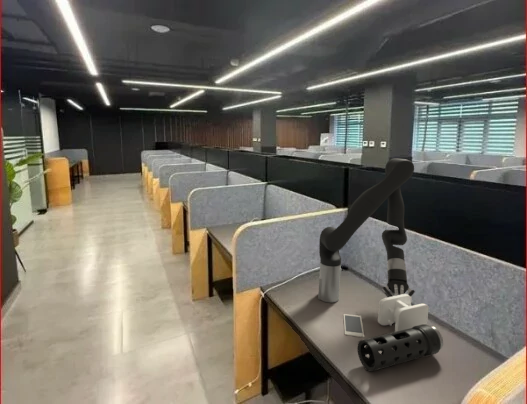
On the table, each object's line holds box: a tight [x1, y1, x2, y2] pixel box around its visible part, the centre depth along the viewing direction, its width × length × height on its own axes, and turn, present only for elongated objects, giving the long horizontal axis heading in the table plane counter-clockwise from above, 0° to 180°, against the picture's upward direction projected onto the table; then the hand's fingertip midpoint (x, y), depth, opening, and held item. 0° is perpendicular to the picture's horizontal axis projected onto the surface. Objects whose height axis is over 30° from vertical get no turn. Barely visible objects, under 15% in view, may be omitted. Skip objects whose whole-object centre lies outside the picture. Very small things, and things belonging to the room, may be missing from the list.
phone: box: [343, 313, 365, 339], centre depth 122 cm, size 7×14×1 cm, turn 168°
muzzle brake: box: [356, 324, 444, 372], centre depth 102 cm, size 10×28×10 cm, turn 110°
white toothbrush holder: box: [377, 293, 430, 332], centre depth 120 cm, size 15×11×12 cm
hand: (399, 312), depth 124 cm, fingers closed
